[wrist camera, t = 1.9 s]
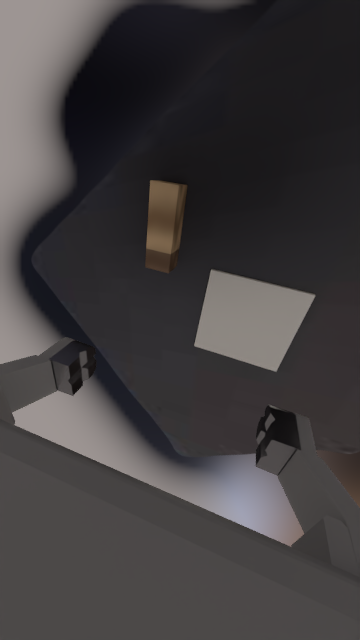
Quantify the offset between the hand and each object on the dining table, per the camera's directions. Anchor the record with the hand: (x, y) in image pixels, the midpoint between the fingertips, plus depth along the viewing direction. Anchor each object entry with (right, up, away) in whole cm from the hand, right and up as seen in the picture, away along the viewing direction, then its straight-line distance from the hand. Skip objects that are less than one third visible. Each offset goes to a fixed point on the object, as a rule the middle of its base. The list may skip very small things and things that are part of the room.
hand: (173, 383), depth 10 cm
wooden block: (-1, +18, +26) cm, 31 cm away
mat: (+12, +2, +30) cm, 32 cm away
